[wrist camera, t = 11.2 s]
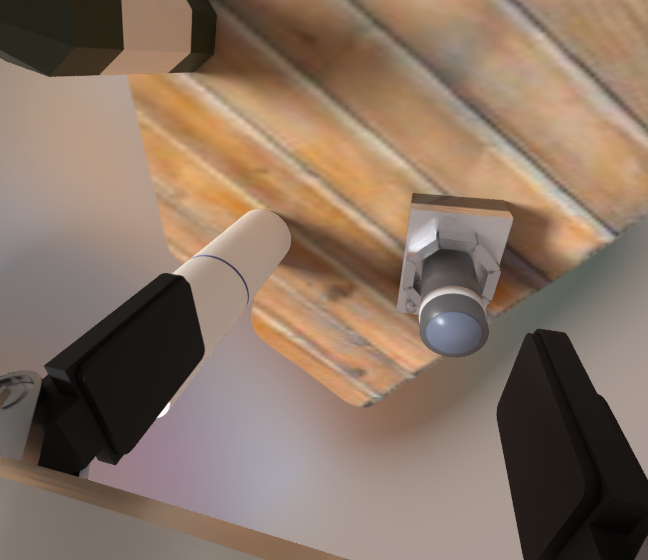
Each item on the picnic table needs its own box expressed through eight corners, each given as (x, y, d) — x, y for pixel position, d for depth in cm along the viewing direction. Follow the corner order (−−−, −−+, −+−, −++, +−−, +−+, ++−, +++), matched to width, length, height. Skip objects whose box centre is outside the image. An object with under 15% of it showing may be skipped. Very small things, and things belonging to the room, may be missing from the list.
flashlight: (410, 274, 37) (404, 335, 28) (444, 237, 34) (448, 293, 25) (451, 300, 37) (457, 369, 29) (487, 266, 34) (506, 331, 26)
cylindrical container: (297, 221, 42) (172, 370, 22) (284, 268, 46) (168, 431, 26) (243, 200, 43) (69, 326, 22) (235, 248, 47) (81, 394, 26)
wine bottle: (158, -57, 32) (-824, -495, 7) (232, 12, 33) (-370, -149, 8) (131, 33, 36) (-520, -35, 11) (197, 90, 37) (-258, 142, 13)
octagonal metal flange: (412, 193, 37) (409, 216, 31) (503, 200, 35) (518, 227, 30) (399, 287, 44) (394, 322, 38) (476, 298, 42) (483, 336, 36)
